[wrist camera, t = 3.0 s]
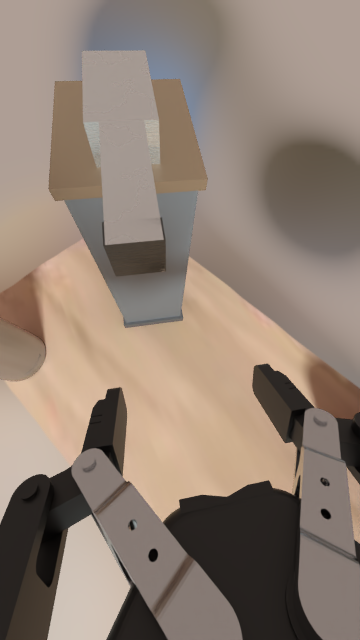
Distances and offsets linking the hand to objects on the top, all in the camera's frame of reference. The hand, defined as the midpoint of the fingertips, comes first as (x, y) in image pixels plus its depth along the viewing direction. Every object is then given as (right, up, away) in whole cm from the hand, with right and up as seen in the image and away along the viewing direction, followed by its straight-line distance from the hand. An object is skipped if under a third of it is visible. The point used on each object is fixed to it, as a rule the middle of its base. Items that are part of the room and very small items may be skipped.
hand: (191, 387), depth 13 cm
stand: (-7, +10, +36) cm, 38 cm away
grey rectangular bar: (-5, +16, +4) cm, 17 cm away
